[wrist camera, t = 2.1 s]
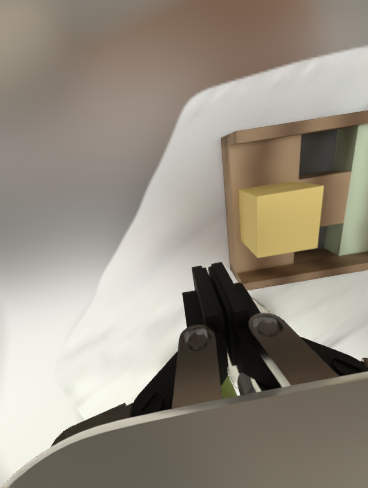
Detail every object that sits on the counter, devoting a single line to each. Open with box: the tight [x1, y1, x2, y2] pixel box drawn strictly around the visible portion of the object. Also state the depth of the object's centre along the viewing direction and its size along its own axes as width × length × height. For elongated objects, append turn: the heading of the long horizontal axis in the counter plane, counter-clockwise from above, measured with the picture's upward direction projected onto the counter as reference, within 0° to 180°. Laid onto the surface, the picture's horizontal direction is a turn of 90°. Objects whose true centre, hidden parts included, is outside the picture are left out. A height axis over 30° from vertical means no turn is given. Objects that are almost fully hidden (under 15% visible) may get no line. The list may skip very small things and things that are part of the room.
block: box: [238, 181, 324, 258], centre depth 21 cm, size 6×6×5 cm
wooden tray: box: [221, 111, 368, 290], centre depth 24 cm, size 22×17×6 cm
